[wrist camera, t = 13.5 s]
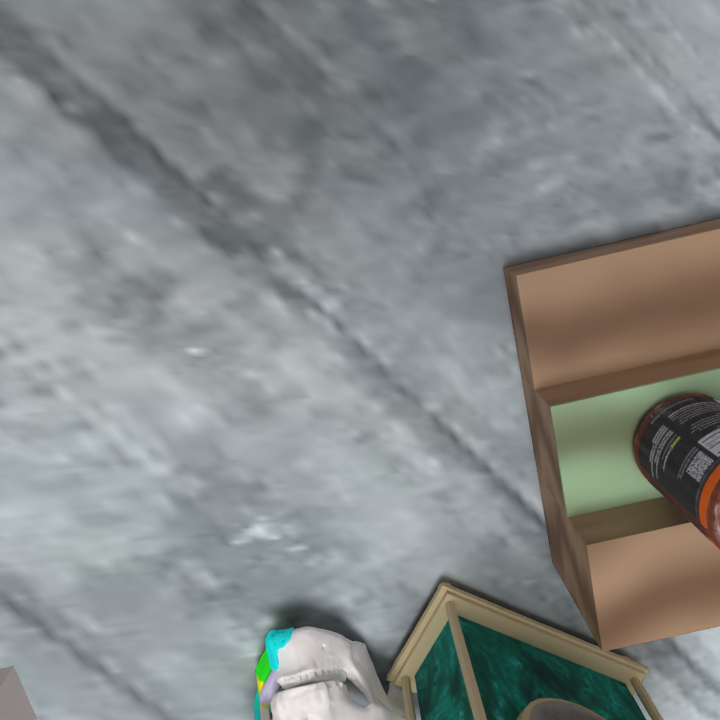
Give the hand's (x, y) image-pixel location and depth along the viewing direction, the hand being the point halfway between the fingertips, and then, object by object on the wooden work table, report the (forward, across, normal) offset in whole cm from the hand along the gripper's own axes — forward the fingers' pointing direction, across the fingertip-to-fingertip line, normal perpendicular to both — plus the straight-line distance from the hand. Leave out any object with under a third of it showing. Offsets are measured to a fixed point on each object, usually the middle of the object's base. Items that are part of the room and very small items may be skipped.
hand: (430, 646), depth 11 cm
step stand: (+32, +18, -11) cm, 38 cm away
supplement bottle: (+26, +16, -11) cm, 32 cm away
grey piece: (+32, -9, -26) cm, 42 cm away
